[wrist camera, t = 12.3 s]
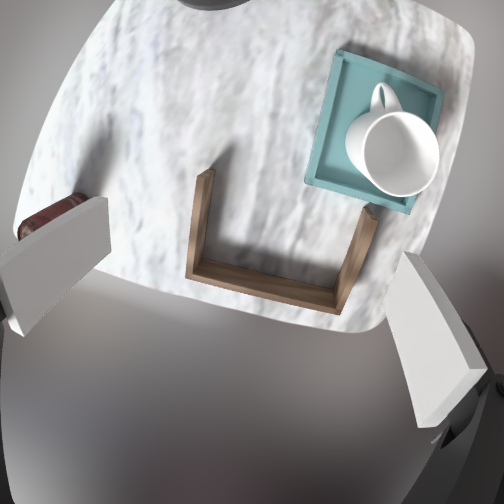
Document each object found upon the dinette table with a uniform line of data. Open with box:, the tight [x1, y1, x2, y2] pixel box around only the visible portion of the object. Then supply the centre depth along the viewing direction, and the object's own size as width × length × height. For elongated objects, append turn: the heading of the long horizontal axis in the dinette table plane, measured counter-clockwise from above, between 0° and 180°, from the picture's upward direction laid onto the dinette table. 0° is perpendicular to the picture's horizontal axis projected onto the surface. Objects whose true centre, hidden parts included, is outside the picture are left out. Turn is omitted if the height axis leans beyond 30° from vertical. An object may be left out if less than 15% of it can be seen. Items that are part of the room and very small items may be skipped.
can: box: [17, 193, 89, 241], centre depth 39 cm, size 6×6×14 cm
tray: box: [304, 49, 444, 215], centre depth 32 cm, size 18×15×3 cm
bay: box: [185, 169, 379, 315], centre depth 40 cm, size 15×23×5 cm, turn 79°
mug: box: [345, 82, 440, 197], centre depth 28 cm, size 9×12×11 cm
